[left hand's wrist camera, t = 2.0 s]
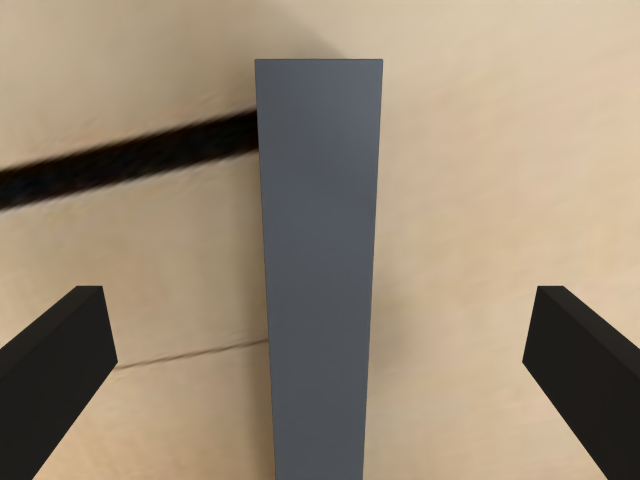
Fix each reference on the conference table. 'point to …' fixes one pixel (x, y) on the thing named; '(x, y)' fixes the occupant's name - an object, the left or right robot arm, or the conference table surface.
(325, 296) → the beam
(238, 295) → the conference table surface
